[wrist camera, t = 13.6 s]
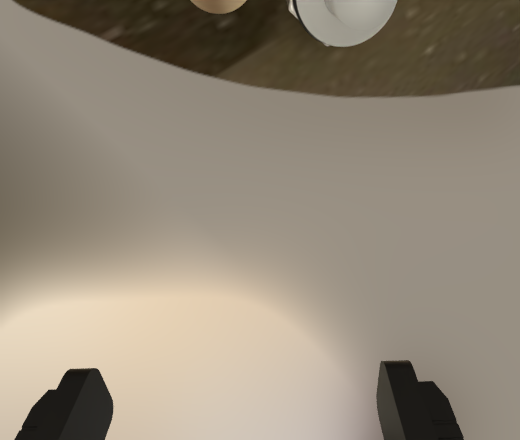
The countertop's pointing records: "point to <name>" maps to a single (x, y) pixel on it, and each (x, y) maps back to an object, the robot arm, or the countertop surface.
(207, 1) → the disc
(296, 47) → the countertop surface
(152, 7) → the countertop surface
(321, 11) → the lid
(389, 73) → the countertop surface
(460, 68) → the countertop surface
